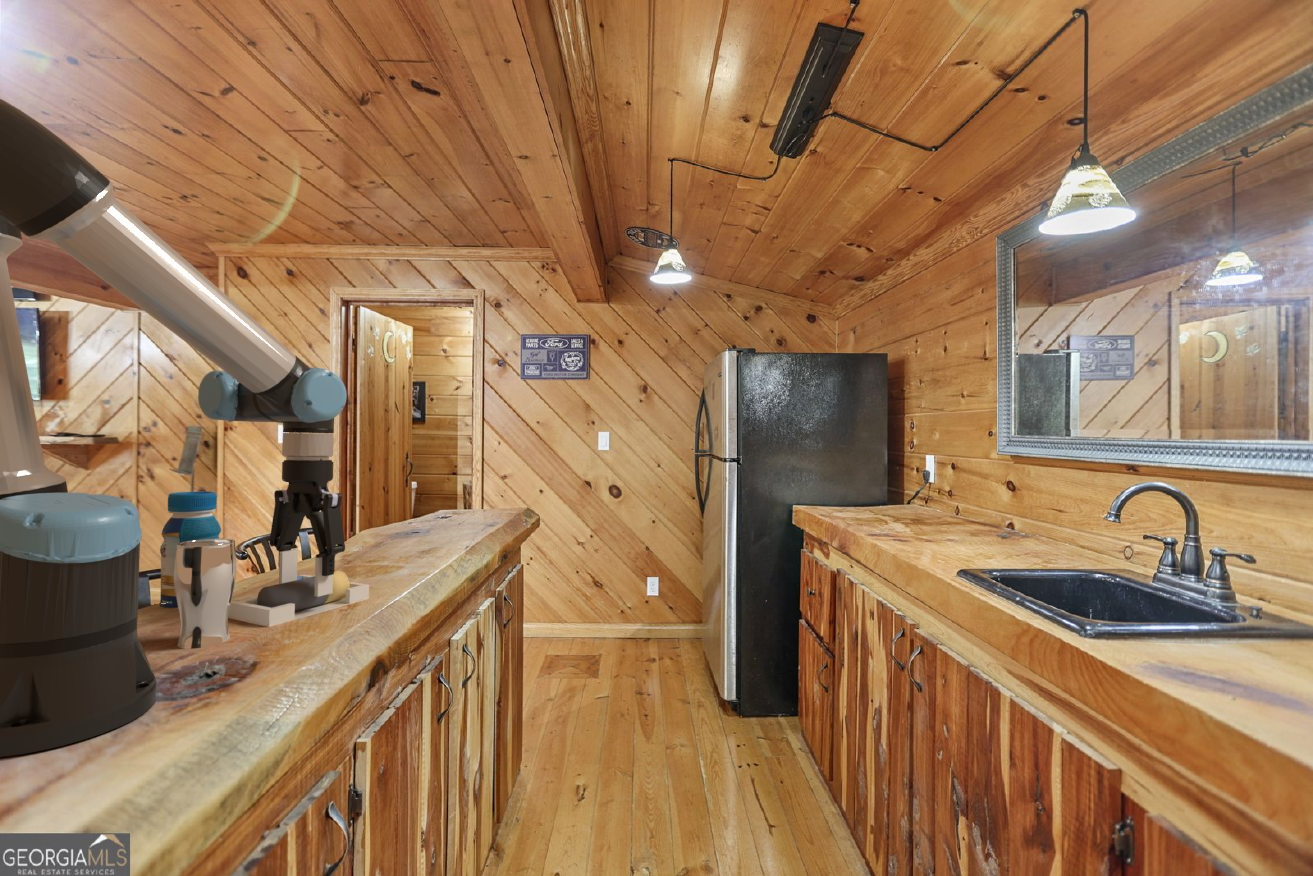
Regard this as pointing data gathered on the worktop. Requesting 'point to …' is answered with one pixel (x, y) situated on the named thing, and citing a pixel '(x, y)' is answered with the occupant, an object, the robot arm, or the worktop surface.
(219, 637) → the beer glass
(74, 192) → the robot arm
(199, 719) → the worktop surface
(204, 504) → the beverage bottle
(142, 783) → the worktop surface
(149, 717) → the worktop surface
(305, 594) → the battery-shaped cylinder
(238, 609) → the beige holder tray
